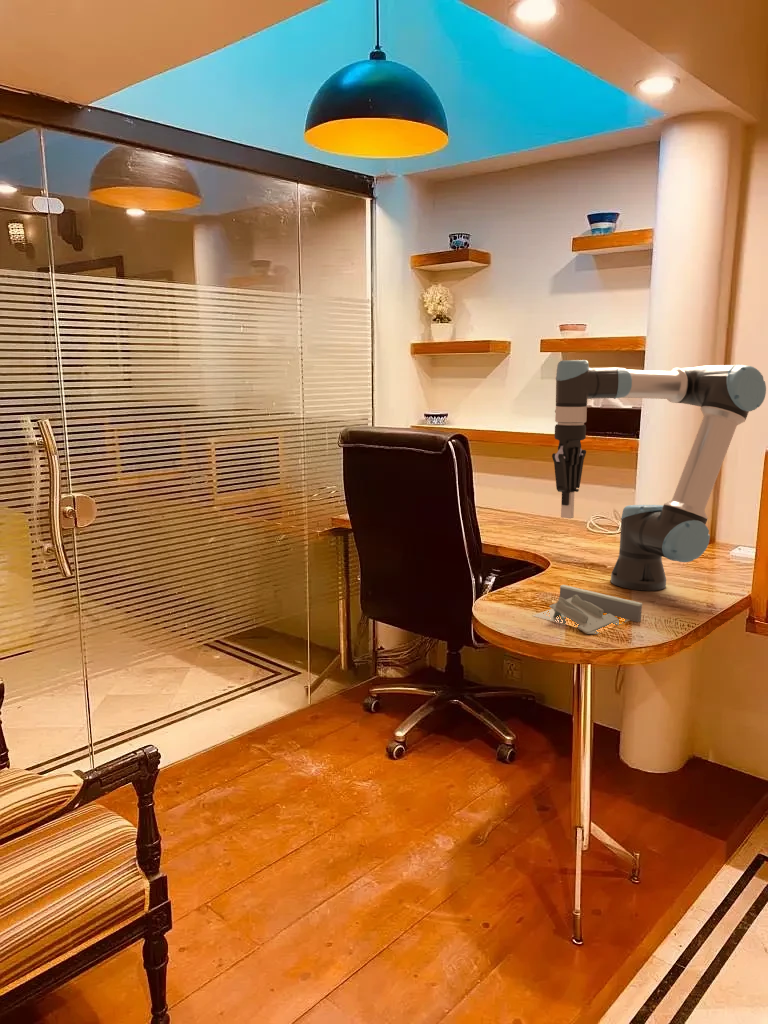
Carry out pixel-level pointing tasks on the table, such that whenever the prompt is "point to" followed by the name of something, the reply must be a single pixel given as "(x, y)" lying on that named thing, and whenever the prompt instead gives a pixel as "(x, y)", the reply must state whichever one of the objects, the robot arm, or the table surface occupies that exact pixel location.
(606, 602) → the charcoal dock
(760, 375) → the robot arm
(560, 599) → the metal bracket
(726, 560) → the table surface
